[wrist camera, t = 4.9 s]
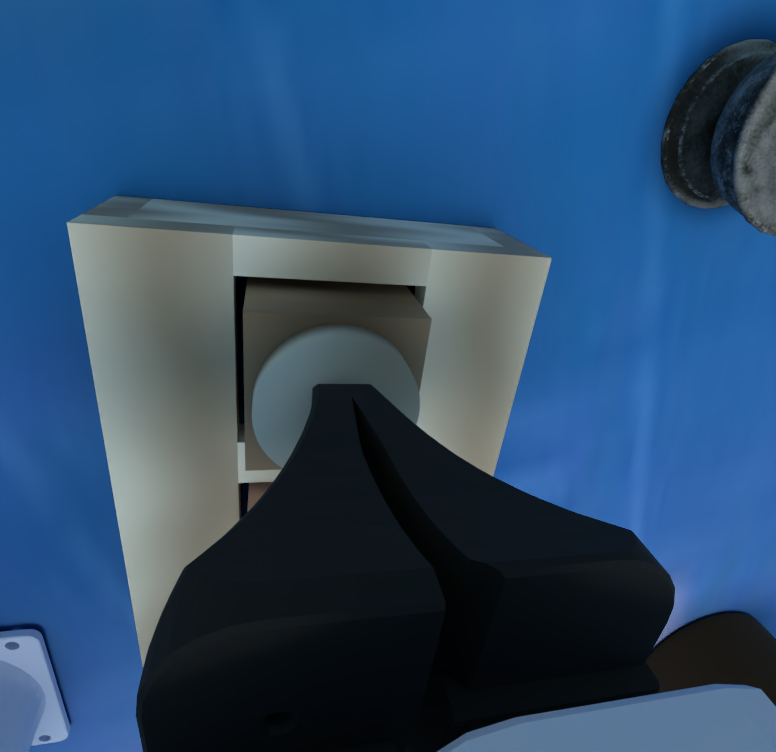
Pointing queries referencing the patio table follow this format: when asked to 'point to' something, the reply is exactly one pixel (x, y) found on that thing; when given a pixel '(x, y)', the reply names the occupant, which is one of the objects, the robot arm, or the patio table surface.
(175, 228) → the grey square block
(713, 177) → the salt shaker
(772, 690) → the olive oil
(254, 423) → the cube with pale circle
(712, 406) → the patio table surface
